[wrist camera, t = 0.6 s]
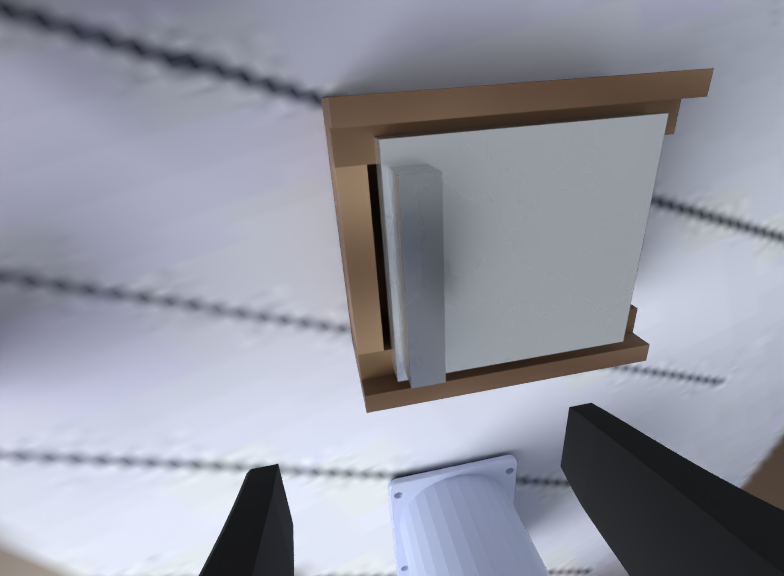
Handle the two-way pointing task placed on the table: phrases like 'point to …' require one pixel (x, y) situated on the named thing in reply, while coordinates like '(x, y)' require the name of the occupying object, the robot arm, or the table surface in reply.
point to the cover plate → (512, 238)
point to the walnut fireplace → (451, 112)
